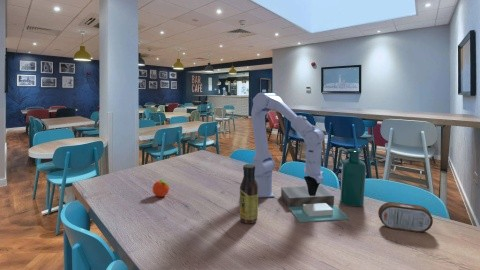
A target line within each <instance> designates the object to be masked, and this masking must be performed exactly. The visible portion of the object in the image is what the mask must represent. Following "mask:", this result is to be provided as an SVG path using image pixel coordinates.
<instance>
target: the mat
mask: <svg viewBox="0 0 480 270" xmlns="http://www.w3.org/2000/svg"><path fill="white" fill-rule="evenodd" d="M329 206H330V207H331V208H332V209H333V215H324V216H308V215H307V214H306V212H305V211H304V210H303V206H298V207H288V208H289V210H290V211H291V213H292V214H293V215H294V217H295V218H296V219H297V221H298V222H299V223H310V222H311V223H312V222H314V223H315V222H329V221H330V222H331V221H347V220H350V217H348V215H346V214H345V213H344V212H342V211H341V209H339V208H338V207H337V206H336V205H335V204H334V205H329Z"/></svg>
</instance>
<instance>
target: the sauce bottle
mask: <svg viewBox="0 0 480 270" xmlns="http://www.w3.org/2000/svg"><path fill="white" fill-rule="evenodd" d="M242 170H243V177H242V181H241V183H240V186H239V218H240V219H239V220H240V221H241V222H242V223H243V224H254V223H256V222H257V221H258V211H259V197H258V184H257V182H256V180H255V179H254V178H255V165H253V163H252V164H251V163H246V164H244V165H242Z"/></svg>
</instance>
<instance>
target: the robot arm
mask: <svg viewBox="0 0 480 270" xmlns="http://www.w3.org/2000/svg"><path fill="white" fill-rule="evenodd" d="M271 110H276V111H277V112H279V113H280V114H281V115H282V116H283V117H285V118H286V119H287V120H288V121H289V122H290V127H291V128H292V129H294V130H295V132H296V133H298V135H300V136H301V138H303V142H304V144H305V145H306V146H305V164H304V165H305V166H304V167H303V172H304V175H305V176H304V177H303V178H304V180H305V183H306V186H307V187H308V193H309V195H310V196H315V195H316V192H317V188H318V186H320V185H321V184H323V183H324V177H323V175H324V173H325V172H324V171H322V152H323V151H322V150H323V149H322V148H323V144H322V143H323V142H324V140H325V133H324V131H323V130H322V129H320V128H316V126H315V125H314V124H311V123H310V122H309V121H308V120H307V119H308V118H307V117H306V116H303V115H297V114H296V112H294V111H293V110H292V109H291V108H290V106H288V105H287V104H286V103H285V102H284V101H283V100H282V98H281V96H279V95H277V94H276V93H274V92H259V93H256V95H255V96H254V97H253V98H252V108H251V114H250V115H251V121H252V130H253V131H252V132H253V139H254V148H255V154H254V156H253V158H252V165H255V178H254V179H255V180H256V182H257V184H258V198H272V197H273V198H274V197H275V195H274V193H273V171H274V170H275V168H276V162H275V160H274V159H273V154H271V153H270V151H269V143H268V137H267V136H268V134H267V127H266V125H267V124H266V117H265V116H266V115H267V113H268V112H269V111H271Z"/></svg>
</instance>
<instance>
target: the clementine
mask: <svg viewBox="0 0 480 270" xmlns="http://www.w3.org/2000/svg"><path fill="white" fill-rule="evenodd" d="M169 191H170V185H169V183H168V182H167V181H165V180H161V179H160V180H158V181H156V182H155V183H154V184H153V186H152V192H153V194H154V195H155V196H156V197H165V196H166V195H168V194H169Z"/></svg>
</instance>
